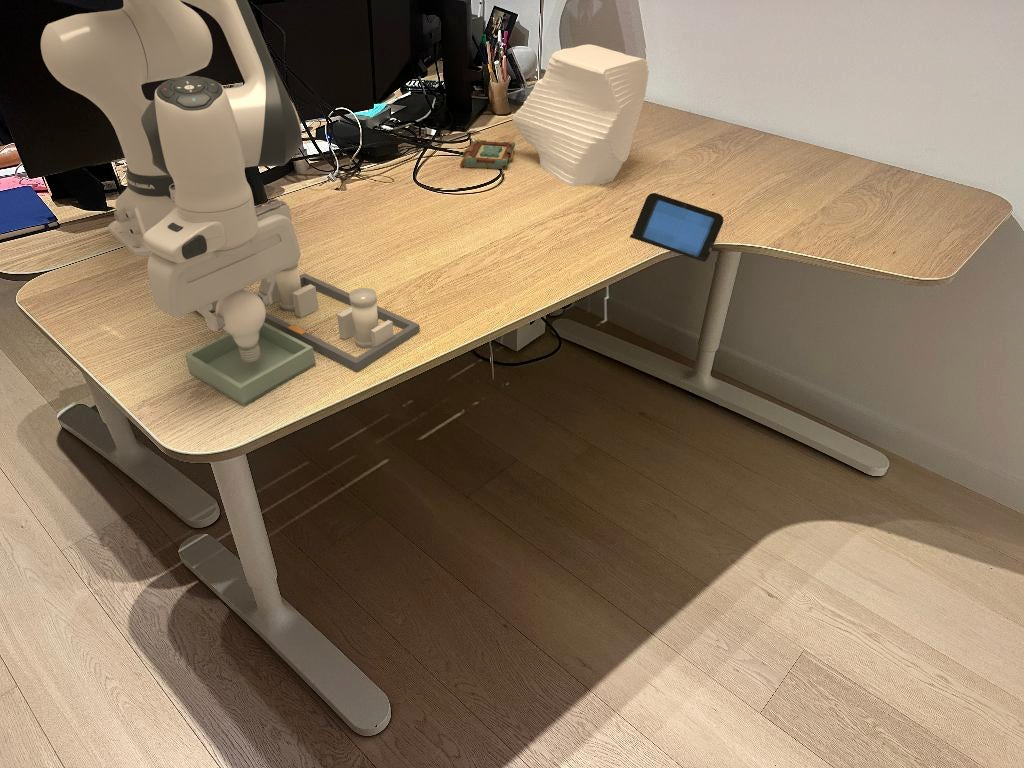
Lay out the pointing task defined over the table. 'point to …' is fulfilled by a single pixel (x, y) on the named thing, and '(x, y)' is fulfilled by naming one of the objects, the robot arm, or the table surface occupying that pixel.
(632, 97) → the white ridged sculpture
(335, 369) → the table surface
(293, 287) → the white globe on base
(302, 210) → the table surface
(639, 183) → the table surface
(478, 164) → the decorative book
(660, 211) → the small black monitor
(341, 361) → the rail
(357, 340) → the cylinder
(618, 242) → the table surface
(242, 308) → the lightbulb
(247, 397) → the tray
